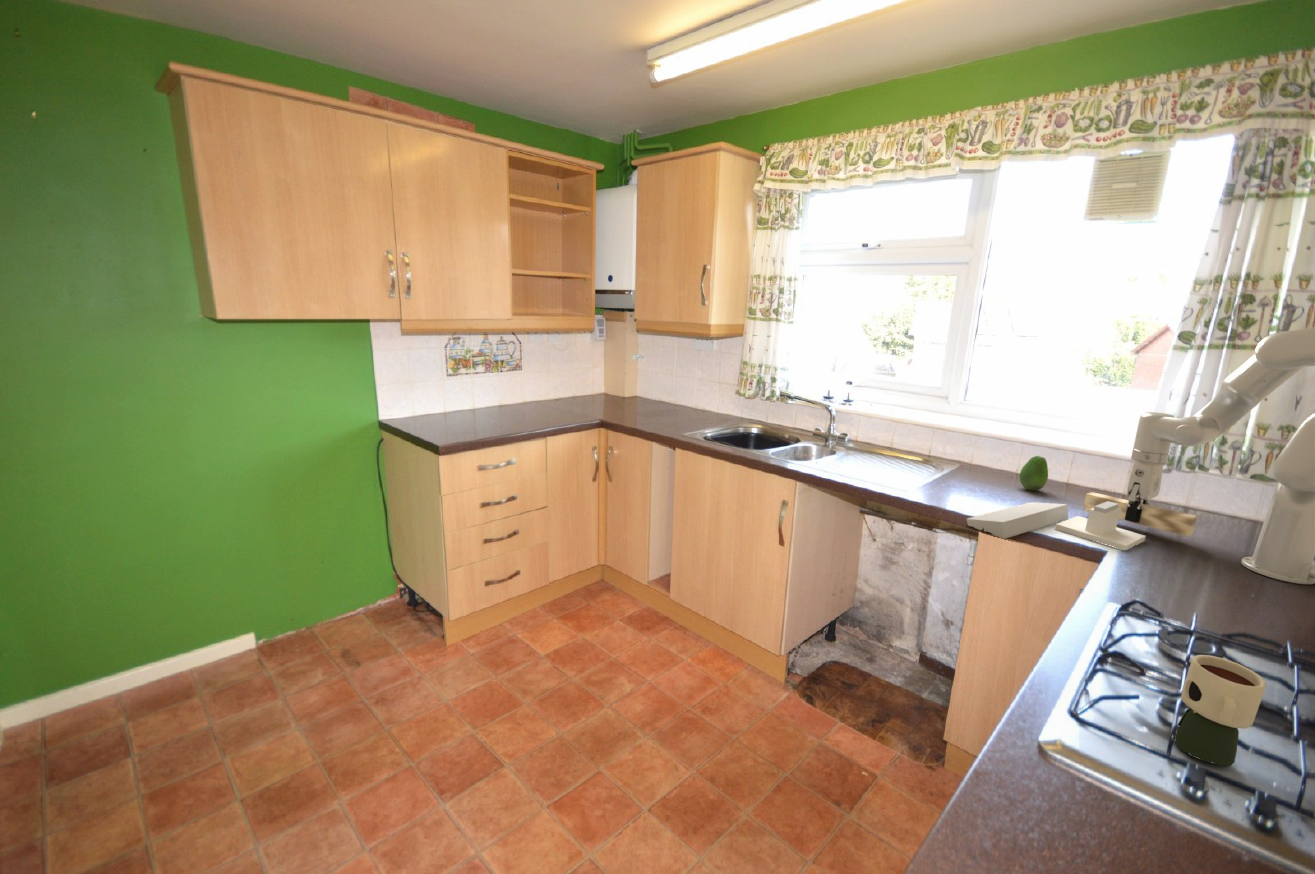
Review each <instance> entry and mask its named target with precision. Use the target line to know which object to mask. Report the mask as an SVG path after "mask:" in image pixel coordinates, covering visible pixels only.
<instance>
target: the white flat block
mask: <svg viewBox="0 0 1315 874" xmlns="http://www.w3.org/2000/svg"><path fill="white" fill-rule="evenodd" d="M1068 508H1069V507H1068V504H1066V503H1064V504H1063V503H1051V502H1049V503H1047V502H1035V501H1031V502H1026V503H1023V504H1019V505H1015V506H1011V507H1007V508H1004V509H999V510H995V511H992V512H987V513H984V514H980V515H976V516H972V517H968V518H966V522H967V526H968V527H973V528H974V529H976V530H979V531H983V533H984V532H988V533H991V534H992V535H993V536H995V537H997V538H1001V539H1004V540H1005V539H1008V538H1013V537H1016V536H1019V535H1020V534H1021V535H1022V534H1025V533H1028V532H1031V531H1035V530H1038V529H1041V528H1042V529H1043V528H1044V527H1047V526H1051V525H1056V524H1058V523H1060V522H1063V521H1066V520H1068V519H1069V509H1068Z"/></svg>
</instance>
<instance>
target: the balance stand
mask: <svg viewBox="0 0 1315 874" xmlns="http://www.w3.org/2000/svg"><path fill="white" fill-rule="evenodd" d="M1120 511H1121V509H1119V508H1118V504H1117V503H1113V502H1109V501H1107V502H1105V503H1102V504H1099V505H1096V506H1095V507H1094V508H1092V509H1090V512H1089V511H1088V512H1089V513H1088V517H1087V518H1086V517H1083V516H1080V515H1076V516H1074V517H1071V518H1068V520H1065V521H1061V522H1058V523H1055V527H1054V528H1055V530H1058V531H1060V532H1063V533H1066V534H1070V535H1073V536H1075V537H1076V536H1077V537H1079V536H1080V537H1079V538H1082V537H1083V538H1082V539H1085V538H1086V539H1085V540H1088V539H1089V541H1091V540H1094V541H1098V542H1100V543H1103V544H1107V545H1111V546H1114V547H1116V548H1118V549H1117V550H1119V549H1120V550H1119V551H1122V550H1124V551H1123V552H1126V551H1128V550H1130V549H1131V548H1133V546H1134V547H1136V546H1137V545H1140V544H1142V543H1144V542H1146V541H1145V540H1146V536H1147V535H1143V534H1140V533H1137V532H1134V531H1130V530H1127V529H1124V528H1121V527H1118V526H1117V525H1118V521H1119V520H1120V519H1119V515H1120ZM1094 541H1093V542H1094ZM1100 543H1099V544H1100ZM1103 544H1102V545H1103ZM1107 545H1106V546H1107ZM1135 545H1136V546H1135ZM1116 548H1115V549H1116ZM1125 550H1126V551H1125Z"/></svg>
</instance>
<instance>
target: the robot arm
mask: <svg viewBox="0 0 1315 874" xmlns="http://www.w3.org/2000/svg"><path fill="white" fill-rule="evenodd" d="M1304 367H1305V368H1306V367H1315V326H1314V327H1307V328H1301V329H1295V330H1286V331H1285V330H1284V331H1280V332H1279V331H1278V332H1275V333H1271V334H1270V335H1267V336H1265V337H1264V338H1263V339H1262V340H1260V341H1259V342H1258V343H1257V345H1256V347H1255V350H1254V353H1253V355H1252V356H1250V357H1249V358H1248V359H1246V361H1245V362H1243V363H1242V364H1241V365H1240V366H1238V367H1237V368H1236V369H1235V370H1234V371H1232V373H1230V374H1229V375H1228V376H1227V377H1225V378H1224V380H1223V381H1222V383H1221V385H1220V386H1221V387H1220V389H1219V391H1218V393H1217V394H1216V395H1215V396H1214V397H1213V399H1211V401H1210V402H1208V403H1207V404H1205V406H1204V407H1203V408H1201V409H1200V410H1199V411H1198V412H1196V413H1195V414H1194V415H1192V416H1189V417H1187V416H1186V417H1175V416H1174V415H1172V414H1170V413H1164V412H1153V411H1151V412H1150V411H1147V412H1142V414H1141V415H1140V416H1139V420H1138V425H1137V430H1136V434H1135V437H1134V444H1133V448H1132V451H1131V457H1130V461H1132V462H1133V465H1132V466H1131V467H1132V468H1131V472H1130V475H1129V479H1128V482H1127V487H1126V495H1127V496H1128V499H1127V500H1129V502H1128V506H1127V511H1126V515H1125V520H1127V521H1126V522H1129V521H1131V522H1130V523H1133V522H1135V523H1134V524H1137V523H1139V521H1140V517H1141V513H1142V509H1141V506H1142V504H1146V505H1150V501H1151V499H1154V498H1157V497H1158V496H1159V493H1160V491H1161V490H1160V488H1161V483H1162V479H1163V478H1162V477H1163V472H1164V471H1163V469H1164V467H1165V466H1166V465H1167V462H1168V457H1169V453H1170V450H1171V449H1170V448H1171V445H1172V444H1174V445H1178V446H1181V447H1195V446H1199V445H1204V444H1208V443H1211V442H1212V441H1214V440H1216V439H1217V438H1219V437H1220V436H1222V435H1223V434H1224V433H1225V432H1226V431H1228V430H1229V429H1230V428H1231V427H1233V426H1234V425H1235V424H1236V423H1238V422H1239V421H1240V420H1242V418H1244V417H1245V416H1246V415H1247V414H1248V413H1249V412H1250V411H1252V410H1253V409H1254V408H1256V407H1257V406H1258V405H1259V404H1260V403H1261V402H1262V401H1263V400H1264V399H1265V398H1267V397H1268V396H1269V395H1270V394H1271V393H1273V392H1274V391H1275V390H1277V389H1278V388H1279V387H1280V386H1281V385H1283V384H1284V383H1286V382H1287V381H1288V380H1289V379H1290V378H1291V377H1293V376H1294V375H1295V374H1297V373H1298V372H1299V371H1300V370H1302V369H1303V368H1304ZM1272 472H1273V476H1274V478H1275V480H1276V482H1277V484H1276V486H1275V488H1274V491H1273V493H1272V496H1271V499H1270V503H1269V505H1268V509H1267V511H1266V515H1265V517H1264V521H1263V523H1262V526H1261V530H1260V533H1259V536H1258V539H1257V542H1256V545H1255V547H1254V551H1253V554H1252V556H1245V557H1242V558H1241V565H1242V566H1243V567H1244V568H1246V569H1248V570H1250V571H1253V572H1255V573H1257V574H1260V575H1261V576H1266V577H1268V578H1272V579H1275V580H1280V581H1284V582H1286V583H1287V582H1288V583H1292V584H1297V585H1298V584H1299V585H1313V584H1315V560H1314V559H1315V410H1314V411H1313V412H1312V413H1309V415H1308V416H1307V417H1306V418H1305V419H1304V420H1303V421H1302V423H1301V424H1300V426H1299V427H1298V428H1297V430H1296V431H1295V432H1294V434H1293V435H1292V436H1291V438H1290V440H1289V441H1288V442H1287V444H1286V445H1285V446H1284V447H1283V449H1282V450H1281V452H1280V453H1279V454H1278V456H1277V458H1276V459H1275V460H1274V462H1273V465H1272ZM1125 520H1124V521H1125Z"/></svg>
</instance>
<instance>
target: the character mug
mask: <svg viewBox="0 0 1315 874" xmlns="http://www.w3.org/2000/svg"><path fill="white" fill-rule="evenodd" d="M1266 687H1267V681H1265V679H1264V678H1263V677H1262V676H1261V675H1259V674H1258V673H1256V672H1254V671H1253V670H1252V669H1250V668H1248V667H1246V666H1243V665H1242V664H1239V663H1237V662H1235V661H1232V660H1229V659H1226V658H1224V657H1219V656H1214V655H1208V654H1207V655H1206V654H1197V655H1194V656H1193V657H1192V659H1191V662H1190V665H1189V668H1188V671H1187V674H1186V677H1185V681H1184V684H1183V686H1182V690H1181V701H1182V702H1183V703H1184V704H1185V705H1186V706H1187V707H1188V708H1187V709H1186V710H1185V711H1184V713H1183V714H1182V717H1181V718H1180V720H1179V721H1178V723H1177V724H1178V725H1179V726H1180V727H1179V729H1178V731H1177V734H1175V735H1176V741H1175V743H1174V744H1175V746H1176V747H1178V748H1179V749H1180V750H1181V749H1182V750H1183V751H1182V750H1181V751H1182V752H1184V751H1185V752H1187V753H1190V754H1191V755H1192V756H1195V757H1198V758H1200V759H1203V760H1205V761H1204V762H1206V761H1207V763H1209V762H1213V763H1215V764H1214V765H1216V764H1219V765H1218V766H1220V765H1223V766H1222V767H1229V766H1230V767H1231V765H1232V764H1233V763H1234V764H1235V762H1236V756H1237V751H1238V742H1239V735H1240V732H1239V729H1248V728H1252V725H1253V724H1254V721H1255V719H1256V716H1257V713H1258V712H1259V711H1258V710H1259V707H1260V704H1261V702H1262V699H1263V696H1264V694H1265V690H1266ZM1185 752H1184V753H1185ZM1187 753H1186V754H1187ZM1200 759H1199V760H1200ZM1203 760H1202V761H1203ZM1213 763H1212V764H1213ZM1234 764H1233V765H1234ZM1233 765H1232V766H1233Z"/></svg>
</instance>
